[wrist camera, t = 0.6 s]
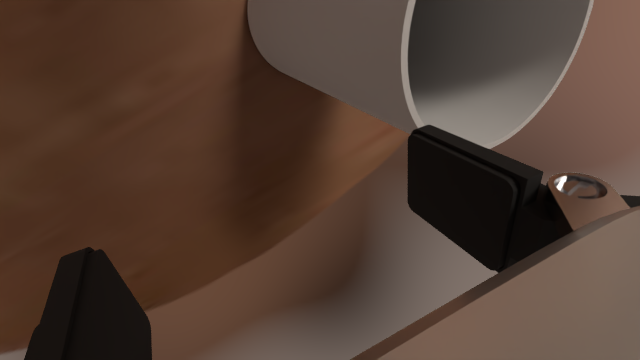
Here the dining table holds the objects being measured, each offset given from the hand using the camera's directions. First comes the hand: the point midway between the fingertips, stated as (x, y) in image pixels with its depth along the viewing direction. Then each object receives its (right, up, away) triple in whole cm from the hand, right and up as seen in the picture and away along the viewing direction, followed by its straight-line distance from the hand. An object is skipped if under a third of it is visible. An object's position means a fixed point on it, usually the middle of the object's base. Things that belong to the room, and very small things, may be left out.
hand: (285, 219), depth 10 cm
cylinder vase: (-1, +19, +26) cm, 32 cm away
